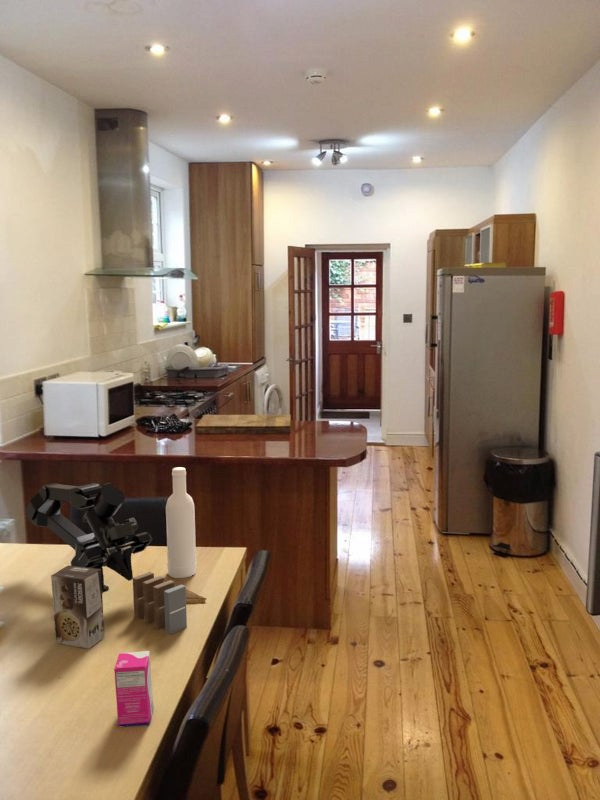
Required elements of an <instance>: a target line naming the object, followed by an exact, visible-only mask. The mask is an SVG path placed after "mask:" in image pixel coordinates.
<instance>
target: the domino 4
mask: <svg viewBox="0 0 600 800" xmlns="http://www.w3.org/2000/svg"><path fill="white" fill-rule="evenodd" d="M186 588H187V587H186V585H184V584H179V585H177V586H176V585H175V587H173V588H171V589H168V590H165V591H164V607H165V627H164V630H165V633H166V634H168V635H172V634H174V633H176V632H179V631H181V630H183V629H185V628H187V627H188V621H187V603H186Z"/></svg>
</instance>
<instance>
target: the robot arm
mask: <svg viewBox="0 0 600 800" xmlns="http://www.w3.org/2000/svg"><path fill="white" fill-rule="evenodd" d="M125 498H126V496H125V493H124V491H122V490H121V489H120V488H118V487H117V486H114V485H112V483H110V482H107V483H104V484H103V485H102V486H101V485H100V484H99V483H98V482H93V483H89V484H85V485H78V486H76V485H70V484H69V485H68V484H60V483H57V482H56V483H50V484H46V485H45V484H44V485H43V486H41V487H40V488H39V491H38V492H37V494H35V496H33V497H32V498H31V499H30V500H29V502H28V505H27V507H26V510H25V515H26V518H27V520H28V521H29V522H30V523H31V524H33V525H34V526H36V527H43V528H48V529H49V530H50V531H52V533H54V534H55V535H57V537H59V538H60V539H61V540H62V541H63V542H65V544H67V545H68V546H69V547H70V548H71V549H73V550H74V556H73V558H72V560H71V561H70V566H78V567H86V568H95V569H101V580H102V592H105V591H107V590H109V589H110V587H109V586H108V585H106V584H105V578H104V577H105V576H104V568H105V567H107V568H108V569H110V570H112V571H113V572H115V573H117V574H118V575H120V576H121V577H123V578H124V579H125V580H127V581H128V582H129V581H133V578H134V577H133V574H134V573H133V565H132V554H133V555H135V554H137V553H138V554H139V553H141V552H143V551H145V550H146V549H147V548H148V546H149V545H150V543H151V542H152V541H153V538H152V535H151V534H150V533H149V532H146V531H145V532H141V533H137V534H135V531H137V530H138V529H139V525H138V522H137V520H136V519H135V517H130V518H128V519H125V521H124V523H122V524H121V523H119V521H116V522H115V521H114V519H113V517H114V516H115V514H116V513H117V512H118V510H119V509H120V508H121V507H122V504H124V502H125ZM64 502H65V503H69V504H70V506H71V507H73V508H75V509H77V510H82V509H87V508H89V509H88V510H87V511H84V513H83V517H82V522H83V523H84V524H85V523H87V524H88V525H89V527H90V530H91V533H86V532H84V531H83V530H82V529H81V528H80V527H78V526H77V525H76V524H74V522H72V521H71V520H70V519H68V518H67V517H66V516H65V515H63V514H62V513H61V508H62V506H63V503H64ZM130 535H133V536H132V538H131V539H130V541H128V539H129V536H130ZM126 541H127V542H126Z"/></svg>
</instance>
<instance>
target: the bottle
mask: <svg viewBox="0 0 600 800" xmlns="http://www.w3.org/2000/svg"><path fill="white" fill-rule="evenodd" d="M186 469H187V468H185V467H182V466H181V467H180V466H178V467H173V468H172V469H171V471H172V472H171V476H172V494H171V495H170V496H169V497H168V499H167V501H166V503H165V504H166V505H165V519H166V549H167V551H166V552H167V553H166V554H167V574H168V576H169V577H171V578H175V579H185V578H190V577H193V576H194V575H195V574H196V573H197V555H196V554H197V552H196V551H197V550H196V519H195V518H196V516H195V515H196V513H195V510H196V509H195V503H194V499H193V497H192V496H191V495H190V494H189V493H187V471H186ZM192 575H193V576H192Z"/></svg>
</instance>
